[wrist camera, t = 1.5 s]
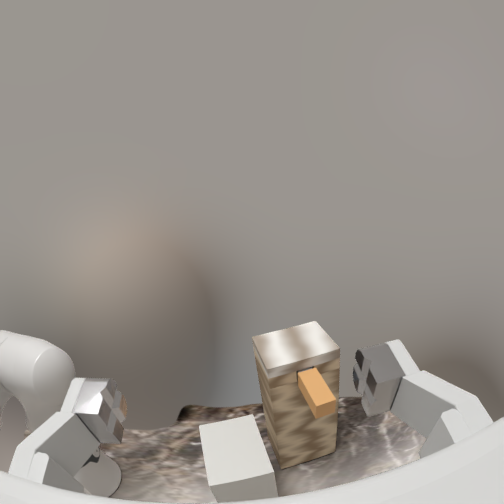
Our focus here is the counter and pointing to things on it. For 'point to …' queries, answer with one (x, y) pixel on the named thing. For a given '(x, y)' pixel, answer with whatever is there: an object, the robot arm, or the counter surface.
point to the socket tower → (296, 391)
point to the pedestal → (237, 461)
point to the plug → (316, 392)
